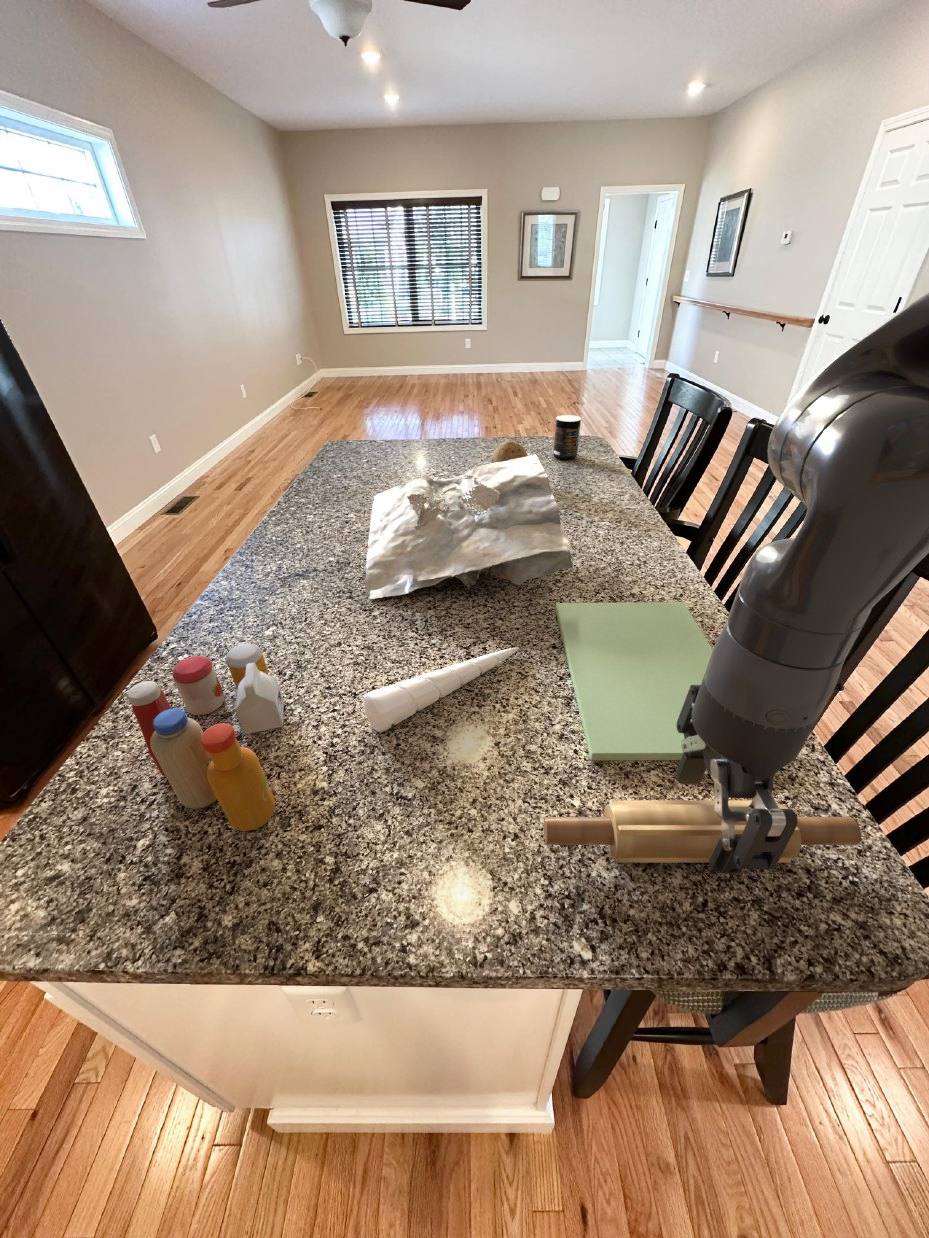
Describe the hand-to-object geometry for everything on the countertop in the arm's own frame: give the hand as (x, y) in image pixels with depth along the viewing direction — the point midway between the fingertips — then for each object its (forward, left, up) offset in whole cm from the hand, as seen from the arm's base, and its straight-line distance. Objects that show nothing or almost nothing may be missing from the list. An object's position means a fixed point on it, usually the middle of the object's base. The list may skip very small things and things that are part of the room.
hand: (703, 820), depth 46 cm
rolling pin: (0, 0, -4) cm, 4 cm away
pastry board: (+20, -16, -5) cm, 26 cm away
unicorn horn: (+32, +8, -5) cm, 33 cm away
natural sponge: (+88, -44, -5) cm, 98 cm away
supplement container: (+94, -68, -5) cm, 116 cm away
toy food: (+38, +34, -5) cm, 51 cm away
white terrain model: (+62, -14, -5) cm, 63 cm away
